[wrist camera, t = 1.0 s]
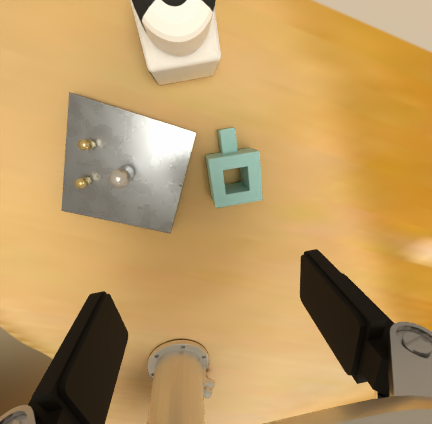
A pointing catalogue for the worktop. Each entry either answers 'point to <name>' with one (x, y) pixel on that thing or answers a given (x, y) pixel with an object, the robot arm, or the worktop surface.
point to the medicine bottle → (178, 38)
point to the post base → (123, 165)
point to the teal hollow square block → (233, 159)
